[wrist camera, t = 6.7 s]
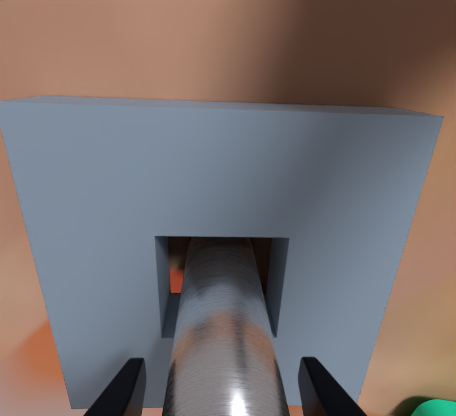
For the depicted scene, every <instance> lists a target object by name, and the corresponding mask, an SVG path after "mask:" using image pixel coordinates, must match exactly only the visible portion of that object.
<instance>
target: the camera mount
mask: <svg viewBox="0 0 456 416" xmlns="http://www.w3.org/2000/svg"><path fill="white" fill-rule="evenodd" d="M411 416H456V402H453V401H447V400H440V399H434V400H429V401H426V402H424V403H422V404H421V405H419V406H418V407H417V408H416V410H415V411H414V412H413V414H412V415H411Z"/></svg>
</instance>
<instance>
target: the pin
mask: <svg viewBox="0 0 456 416" xmlns="http://www.w3.org/2000/svg"><path fill="white" fill-rule="evenodd" d="M162 416H290V414H289V409H288V405H287V400H286V396H285V391H284V387H283V382H282V378H281V373H280V369H279V364H278V360H277V355H276V350H275V346H274V341H273V337H272V332H271V328H270V323H269V319H268V314H267V310H266V305H265V301H264V296H263V291H262V287H261V282H260V278H259V273H258V269H257V264H256V260H255V255H254V251H253V246H252V243H251V240H250V238H249V237H205V236H193V237H192V239H191V240H190V243H189V246H188V252H187V258H186V265H185V271H184V277H183V284H182V291H181V297H180V303H179V310H178V316H177V322H176V329H175V335H174V342H173V348H172V354H171V361H170V367H169V374H168V380H167V386H166V393H165V399H164V406H163V412H162Z"/></svg>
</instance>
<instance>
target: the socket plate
mask: <svg viewBox="0 0 456 416" xmlns="http://www.w3.org/2000/svg"><path fill="white" fill-rule="evenodd" d="M442 121H443V116H437V115H432V114H426V113H421V112H415V111H410V110H404V109H399V108H390V107H361V106H332V105H303V104H274V103H245V102H216V101H187V100H158V99H129V98H100V97H71V96H38V97H29V98H21V99H12V100H4V101H0V128H1V131H2V135H3V139H4V143H5V147H6V151H7V155H8V159H9V163H10V167H11V171H12V175H13V179H14V183H15V187H16V191H17V195H18V199H19V203H20V207H21V211H22V215H23V218H24V222H25V226H26V230H27V234H28V238H29V242H30V246H31V250H32V254H33V258H34V262H35V266H36V270H37V274H38V278H39V282H40V286H41V290H42V294H43V298H44V302H45V305H46V309H47V313H48V317H49V321H50V325H51V329H52V333H53V337H54V340H55V345H56V349H57V352H58V357H59V361H60V365H61V369H62V373H63V376H64V381H65V385H66V388H67V392H68V396H69V400H70V404H71V408H72V409H89V408H90V407H91V405H92V404H93V403H94V402H95V400H96V399H97V398H98V397H99V396H100V394H101V393H102V392H103V391H104V389H105V388H106V387H107V386H108V384H109V383H110V382H111V381H112V379H113V378H114V377H115V376H116V374H117V373H118V372H119V371H120V369H121V368H122V367H123V366H124V364H125V363H126V362H127V361H128V360H129V359H130V358H141V357H142V358H144V360H145V367H146V389H145V395H144V401H143V408H160V407H163V406H164V399H165V393H166V386H167V380H168V374H169V367H170V361H171V354H172V348H173V342H174V335H175V329H176V322H177V316H178V310H179V303H180V297H181V293H171V290H170V269H169V248H168V236H205V237H272V242H271V252H270V261H269V271H268V280H267V290H266V293H263V296H264V301H265V305H266V310H267V314H268V319H269V323H270V328H271V332H272V337H273V341H274V346H275V350H276V355H277V360H278V364H279V369H280V373H281V378H282V382H283V387H284V391H285V396H286V400H287V405H288V406H298V405H299V406H301V405H302V403H301V397H300V392H299V386H298V372H299V366H300V361H301V358H302V357H304V356H313V357H316V358H317V359H318V360H319V361H320V362H321V364H322V365H323V366H324V367H325V368H326V369H327V370H328V372H329V373H330V374H331V375H332V376H333V377H334V378H335V380H336V381H337V382H338V383H339V384H340V385H341V386H342V388H343V389H344V390H345V391H346V392H347V393H348V394H349V396H350V397H351V398H352V399H353V400H354V401H355V402H356V404H357V401H358V398H359V394H360V391H361V388H362V384H363V381H364V378H365V375H366V371H367V368H368V365H369V361H370V358H371V355H372V351H373V348H374V345H375V342H376V338H377V335H378V332H379V328H380V325H381V322H382V319H383V315H384V312H385V309H386V305H387V302H388V299H389V295H390V292H391V289H392V286H393V282H394V279H395V276H396V272H397V269H398V266H399V262H400V259H401V256H402V253H403V249H404V246H405V243H406V239H407V236H408V233H409V229H410V226H411V223H412V220H413V216H414V213H415V210H416V206H417V203H418V200H419V197H420V193H421V190H422V187H423V183H424V180H425V177H426V173H427V170H428V167H429V164H430V160H431V157H432V154H433V150H434V147H435V144H436V140H437V137H438V134H439V131H440V127H441V124H442Z"/></svg>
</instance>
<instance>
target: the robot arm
mask: <svg viewBox="0 0 456 416" xmlns="http://www.w3.org/2000/svg"><path fill="white" fill-rule="evenodd" d="M298 386H299V392H300V397H301V403H302V409H303V415H304V416H367V415H366V414H365V413H364V412H363V410H362V409H361V408H360V407H359V406H358V405H357V404H356V402H355V401H354V400H353V399H352V398H351V397H350V396H349V394H348V393H347V392H346V391H345V390H344V389H343V388H342V386H341V385H340V384H339V383H338V382H337V381H336V380H335V378H334V377H333V376H332V375H331V374H330V373H329V372H328V370H327V369H326V368H325V367H324V366H323V365H322V364H321V362H320V361H319V360H318V359H317V358H316V357H313V356H304V357H302V358H301V361H300V366H299V372H298ZM145 389H146V367H145V360H144V358H142V357H141V358H130V359H129V360H128V361H127V362H126V363H125V364H124V366H123V367H122V368H121V369H120V371H119V372H118V373H117V374H116V376H115V377H114V378H113V379H112V381H111V382H110V383H109V384H108V386H107V387H106V388H105V389H104V391H103V392H102V393H101V394H100V396H99V397H98V398H97V399H96V400H95V402H94V403H93V404H92V405H91V407H90V408H89V409H88V410H87V412H86V413H85V414H84V416H141V414H142V408H143V401H144V395H145Z"/></svg>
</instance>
